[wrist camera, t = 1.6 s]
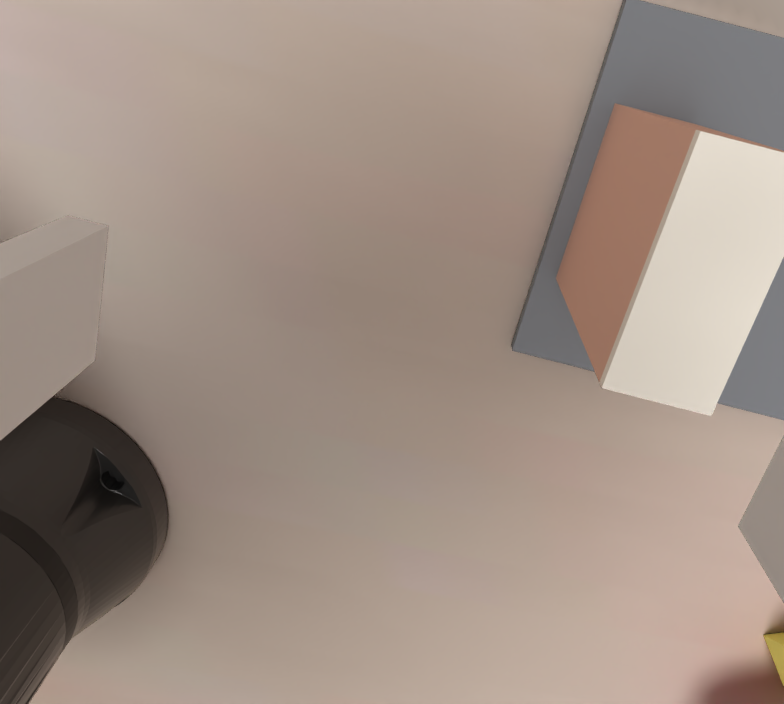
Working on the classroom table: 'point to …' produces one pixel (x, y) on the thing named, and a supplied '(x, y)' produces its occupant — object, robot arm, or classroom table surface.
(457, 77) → the classroom table surface
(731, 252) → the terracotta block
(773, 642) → the toy
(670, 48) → the slate mat
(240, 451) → the classroom table surface
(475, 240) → the classroom table surface
